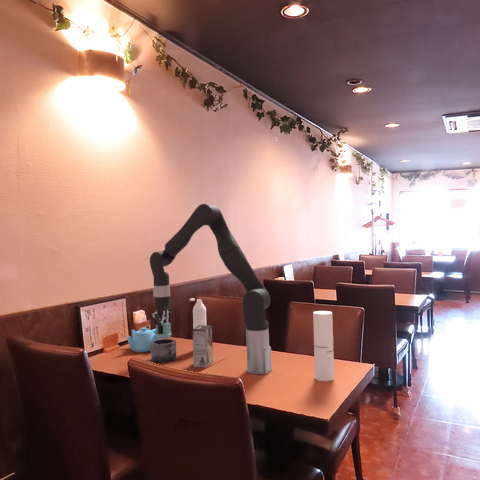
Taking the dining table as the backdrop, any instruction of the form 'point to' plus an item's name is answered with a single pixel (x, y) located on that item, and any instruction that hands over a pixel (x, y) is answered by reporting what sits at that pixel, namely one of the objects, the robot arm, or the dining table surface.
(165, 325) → the teal short cylinder
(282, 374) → the dining table surface
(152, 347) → the dark grey canister
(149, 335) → the teapot
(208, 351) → the coffee box
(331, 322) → the cylindrical container
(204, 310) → the water bottle
